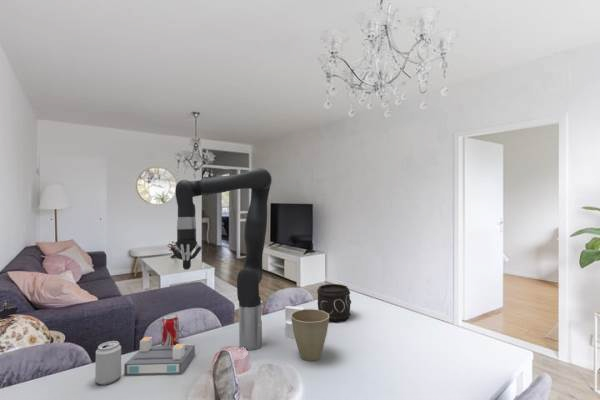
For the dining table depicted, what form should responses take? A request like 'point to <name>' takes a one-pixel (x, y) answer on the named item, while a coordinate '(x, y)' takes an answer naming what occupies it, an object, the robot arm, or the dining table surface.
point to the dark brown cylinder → (334, 301)
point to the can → (108, 362)
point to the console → (158, 361)
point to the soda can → (170, 330)
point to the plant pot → (310, 332)
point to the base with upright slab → (290, 320)
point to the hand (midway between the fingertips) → (186, 269)
